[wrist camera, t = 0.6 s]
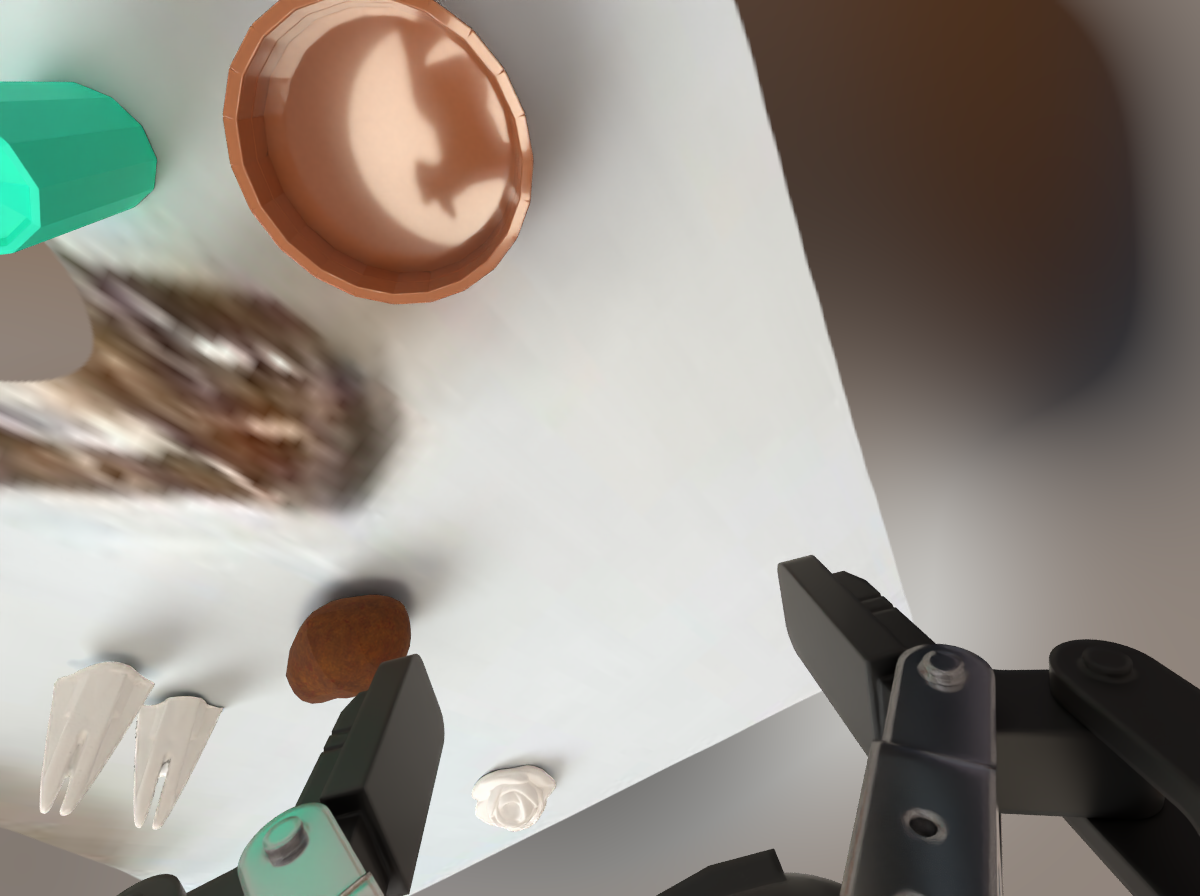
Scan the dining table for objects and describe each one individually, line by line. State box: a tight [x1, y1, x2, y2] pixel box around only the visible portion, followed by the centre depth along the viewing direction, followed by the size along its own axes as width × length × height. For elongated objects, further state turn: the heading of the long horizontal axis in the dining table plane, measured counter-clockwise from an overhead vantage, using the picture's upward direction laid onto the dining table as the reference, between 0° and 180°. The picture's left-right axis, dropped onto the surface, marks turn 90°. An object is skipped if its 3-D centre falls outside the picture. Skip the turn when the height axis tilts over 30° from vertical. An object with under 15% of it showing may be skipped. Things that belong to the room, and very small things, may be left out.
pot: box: [223, 0, 534, 304], centre depth 31 cm, size 14×14×5 cm
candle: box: [0, 82, 157, 255], centre depth 25 cm, size 6×6×12 cm
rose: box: [472, 765, 556, 832], centre depth 67 cm, size 10×4×10 cm
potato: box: [286, 594, 411, 704], centre depth 47 cm, size 8×11×8 cm
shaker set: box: [40, 661, 223, 829], centre depth 45 cm, size 12×4×11 cm, turn 27°
